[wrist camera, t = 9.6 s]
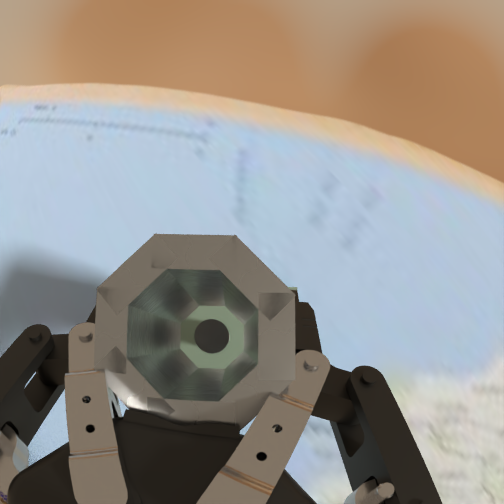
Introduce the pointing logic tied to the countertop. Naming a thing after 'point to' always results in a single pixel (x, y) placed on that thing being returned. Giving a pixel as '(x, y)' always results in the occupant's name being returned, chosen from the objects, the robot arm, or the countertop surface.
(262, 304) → the hub
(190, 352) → the green peg stand
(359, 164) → the countertop surface
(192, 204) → the countertop surface
